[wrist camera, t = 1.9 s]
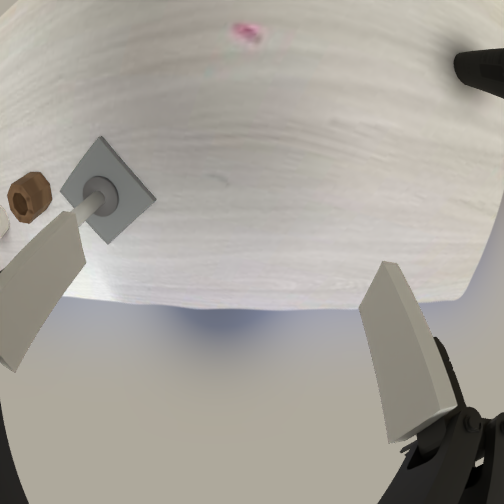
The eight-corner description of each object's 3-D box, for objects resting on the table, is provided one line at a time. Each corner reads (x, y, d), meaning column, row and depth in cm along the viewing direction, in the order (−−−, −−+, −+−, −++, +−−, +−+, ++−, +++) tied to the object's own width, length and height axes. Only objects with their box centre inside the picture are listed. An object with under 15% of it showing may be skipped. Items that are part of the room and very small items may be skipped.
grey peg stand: (62, 189, 34) (24, 219, 26) (101, 136, 30) (56, 158, 22) (110, 242, 39) (80, 280, 31) (156, 199, 35) (125, 237, 27)
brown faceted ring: (22, 189, 34) (4, 202, 30) (34, 164, 32) (14, 176, 27) (43, 215, 37) (26, 230, 33) (56, 192, 34) (37, 206, 30)
